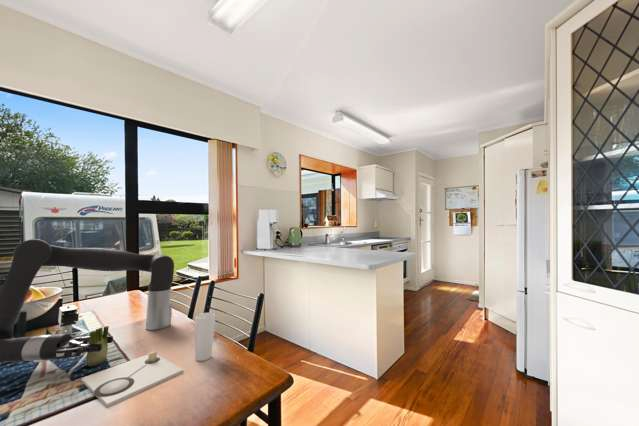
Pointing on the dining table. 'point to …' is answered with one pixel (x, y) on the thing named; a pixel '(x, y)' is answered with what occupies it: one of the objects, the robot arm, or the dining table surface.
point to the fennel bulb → (98, 338)
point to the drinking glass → (204, 335)
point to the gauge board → (130, 378)
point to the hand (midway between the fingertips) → (106, 343)
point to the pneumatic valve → (67, 318)
